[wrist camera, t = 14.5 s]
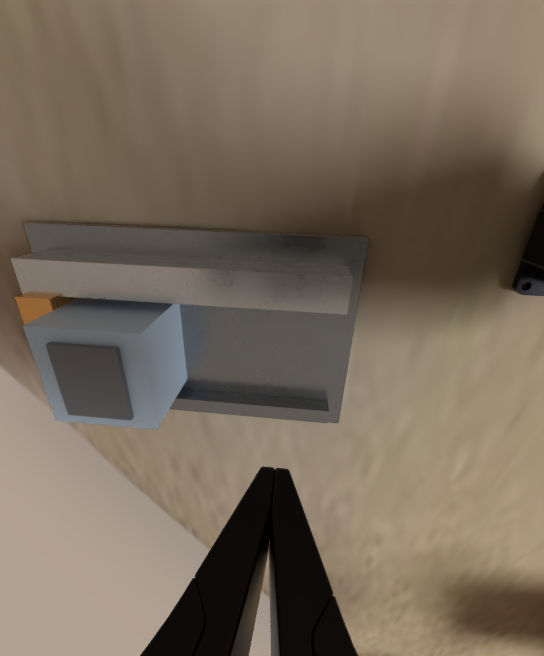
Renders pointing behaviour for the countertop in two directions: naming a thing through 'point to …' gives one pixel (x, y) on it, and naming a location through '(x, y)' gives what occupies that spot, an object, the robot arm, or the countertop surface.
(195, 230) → the rail plate
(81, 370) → the block
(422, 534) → the countertop surface
